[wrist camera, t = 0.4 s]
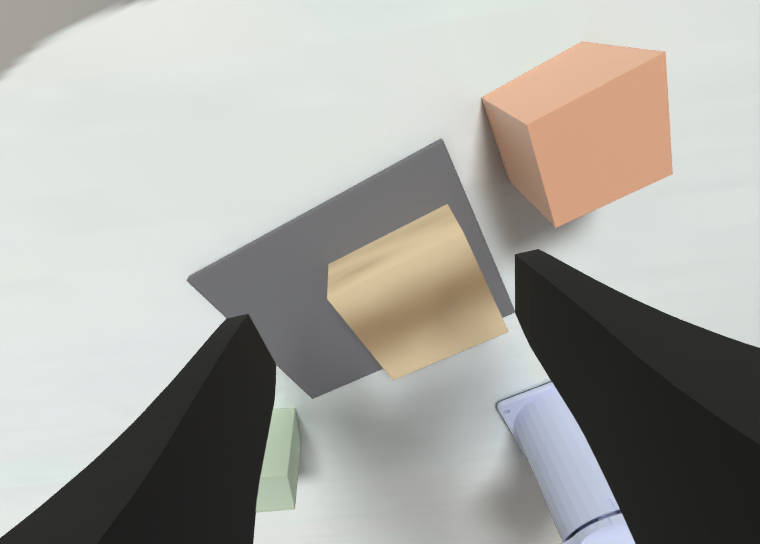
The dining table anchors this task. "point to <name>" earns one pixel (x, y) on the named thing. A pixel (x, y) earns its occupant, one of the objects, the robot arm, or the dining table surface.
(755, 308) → the dining table surface
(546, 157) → the terracotta cube
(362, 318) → the oak slab
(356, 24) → the dining table surface
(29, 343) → the dining table surface
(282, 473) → the sage cube
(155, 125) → the dining table surface
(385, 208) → the mat
